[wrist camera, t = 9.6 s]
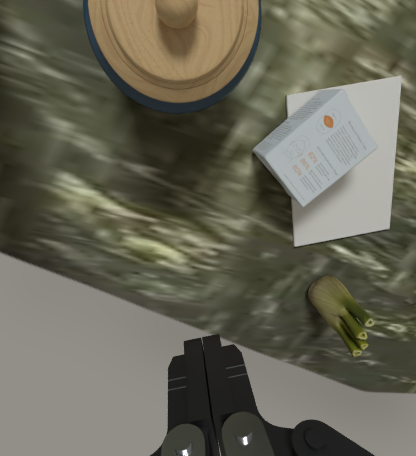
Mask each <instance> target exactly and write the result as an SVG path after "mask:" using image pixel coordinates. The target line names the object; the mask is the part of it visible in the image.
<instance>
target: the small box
mask: <svg viewBox="0 0 416 456" xmlns="http://www.w3.org/2000/svg"><path fill="white" fill-rule="evenodd" d="M377 148H378V145H377V144H376V142H375V141H374V140H373V138H372V137H371V135H370V133H369V132H368V130H367V128H366V127H365V125H364V124H363V122H362V120H361V118H360V117H359V115H358V113H357V112H356V110H355V108H354V107H353V105H352V103H351V102H350V100H349V98H348V95H347V93H346V91H345V90H344V89H330V90H320V91H319V92H318V93H316V94H315V95H314V96H313V97H312V98H311V99H310V100H308V101H307V102H306V103H305V104H304V105H303V106H302V107H300V108H299V109H298V110H297V111H296V112H295V113H293V114H292V115H291V116H290V117H289V118H288V119H286V120H285V121H284V122H283V123H282V124H281V125H280V126H279V127H277V128H276V129H275V130H274V131H273V132H272V133H270V134H269V135H268V136H267V137H266V138H265V139H264V140H262V141H261V142H260V143H259V144H258V145H257V146H256V147H255V148H254V149H253V152H254V153H255V154H256V156H257V157H258V158H259V159H260V161H261V162H262V163H263V164H264V165H265V166H266V168H267V169H268V170H269V171H270V172H271V173H272V175H273V176H274V177H275V178H276V179H277V181H278V182H279V183H280V184H281V185H282V187H283V188H284V189H285V191H286V192H287V194H288V195H289V196H290V197H292V198H293V199H294V200H295V201H296V202H297V203H298V204H300V205H301V206H302V207H305V206H306V205H307V204H308V203H310V202H311V201H312V200H313V199H315V198H316V197H317V196H318V195H320V194H321V193H322V192H323V191H325V190H326V189H327V188H328V187H330V186H331V185H332V184H333V183H334V182H336V181H337V180H338V179H339V178H341V177H342V176H343V175H345V174H346V173H347V172H348V171H349V170H351V169H352V168H353V167H355V166H356V165H357V164H358V163H360V162H361V161H362V160H363V159H365V158H366V157H367V156H368V155H370V154H371V153H372V152H373V151H375V150H376V149H377Z"/></svg>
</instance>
